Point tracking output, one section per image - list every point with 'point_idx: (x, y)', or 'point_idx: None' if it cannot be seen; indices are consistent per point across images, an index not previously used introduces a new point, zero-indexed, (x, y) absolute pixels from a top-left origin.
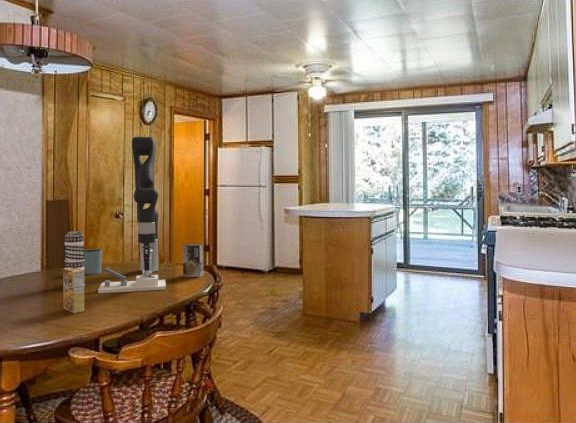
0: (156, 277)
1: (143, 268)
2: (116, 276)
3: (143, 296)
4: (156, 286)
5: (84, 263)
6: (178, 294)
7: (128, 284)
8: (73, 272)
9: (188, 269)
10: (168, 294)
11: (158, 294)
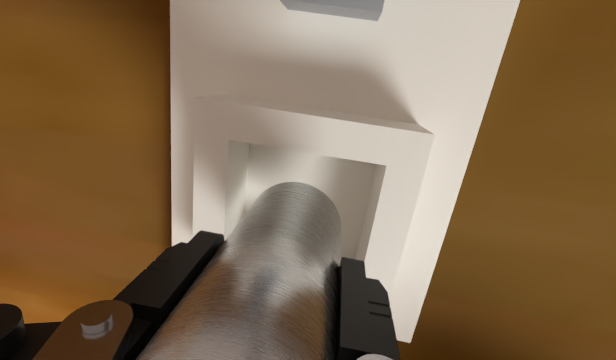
0: None
1: (234, 234)
2: None
3: (19, 122)
4: (180, 241)
5: None
6: (51, 308)
7: (337, 32)
8: None
9: None
10: (57, 265)
11: (63, 217)
